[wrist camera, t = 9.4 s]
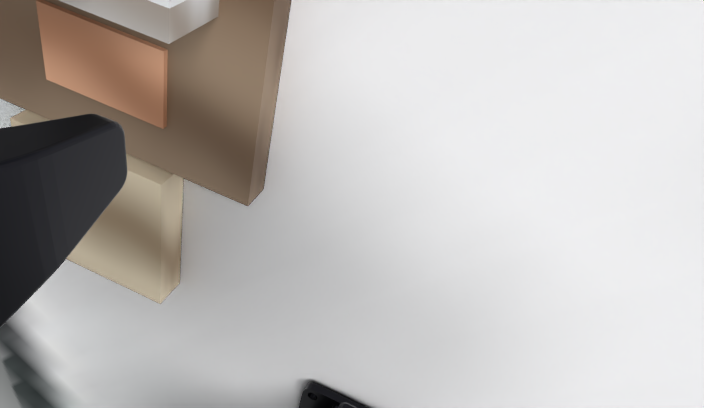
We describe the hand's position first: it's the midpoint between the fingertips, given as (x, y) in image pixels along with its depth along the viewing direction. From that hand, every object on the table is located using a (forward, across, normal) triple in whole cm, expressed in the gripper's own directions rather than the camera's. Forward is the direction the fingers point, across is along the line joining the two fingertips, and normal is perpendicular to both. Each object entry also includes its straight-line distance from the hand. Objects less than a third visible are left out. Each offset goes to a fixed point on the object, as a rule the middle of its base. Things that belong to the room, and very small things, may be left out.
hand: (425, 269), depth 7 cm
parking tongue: (+11, +14, +13) cm, 22 cm away
